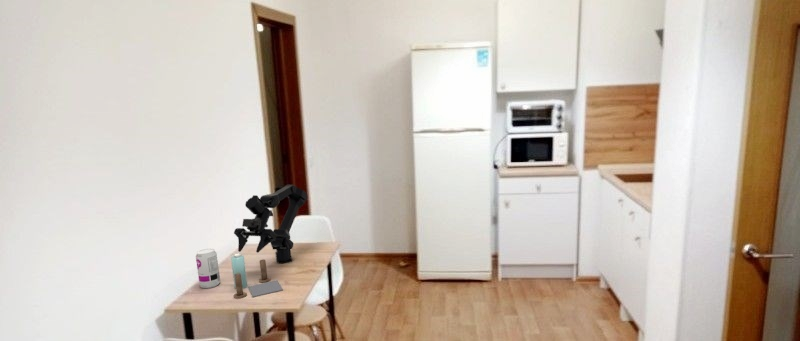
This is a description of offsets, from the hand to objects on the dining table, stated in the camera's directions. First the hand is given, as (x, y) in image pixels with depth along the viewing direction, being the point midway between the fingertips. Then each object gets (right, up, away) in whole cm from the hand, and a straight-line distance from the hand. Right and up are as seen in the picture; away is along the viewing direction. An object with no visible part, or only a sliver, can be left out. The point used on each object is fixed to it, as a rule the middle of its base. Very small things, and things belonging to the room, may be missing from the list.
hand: (248, 251), depth 196 cm
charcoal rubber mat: (+10, -14, -9) cm, 19 cm away
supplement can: (-16, -14, 0) cm, 22 cm away
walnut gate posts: (+4, -14, -7) cm, 16 cm away
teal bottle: (-1, -14, -5) cm, 15 cm away
